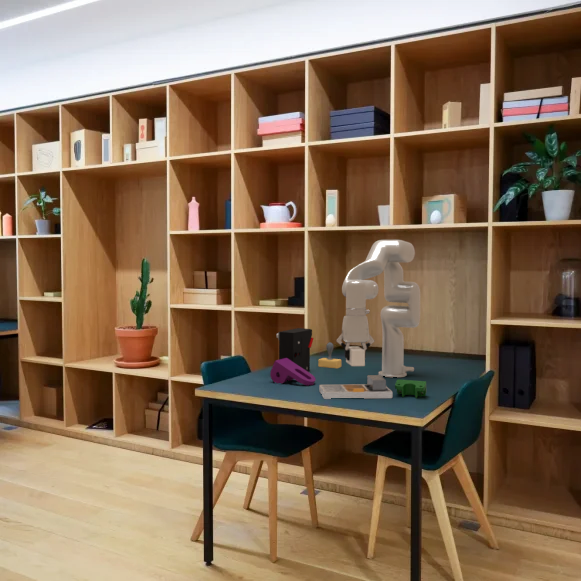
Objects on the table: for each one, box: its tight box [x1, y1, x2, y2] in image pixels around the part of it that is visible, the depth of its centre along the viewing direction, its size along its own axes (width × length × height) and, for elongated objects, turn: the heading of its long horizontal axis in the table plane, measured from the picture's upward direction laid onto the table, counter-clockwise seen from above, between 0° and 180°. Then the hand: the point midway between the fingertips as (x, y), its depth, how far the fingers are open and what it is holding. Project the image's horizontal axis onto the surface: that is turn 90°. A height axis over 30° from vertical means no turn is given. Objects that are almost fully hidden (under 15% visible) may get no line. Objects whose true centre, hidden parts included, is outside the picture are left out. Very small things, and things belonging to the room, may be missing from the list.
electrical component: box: [276, 327, 314, 375], centre depth 282 cm, size 18×10×20 cm, turn 150°
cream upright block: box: [345, 346, 366, 367], centre depth 239 cm, size 10×5×6 cm, turn 8°
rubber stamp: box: [317, 342, 342, 369], centre depth 302 cm, size 10×6×12 cm, turn 62°
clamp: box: [394, 378, 428, 399], centre depth 237 cm, size 12×6×9 cm, turn 64°
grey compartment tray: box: [318, 374, 393, 400], centre depth 240 cm, size 26×14×6 cm, turn 95°
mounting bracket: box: [269, 358, 316, 387], centre depth 263 cm, size 10×8×18 cm
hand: (355, 359), depth 239 cm, fingers closed on cream upright block, 5 cm apart
